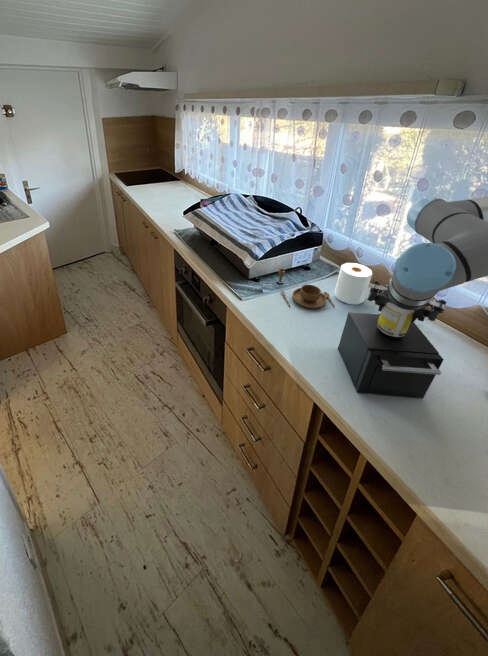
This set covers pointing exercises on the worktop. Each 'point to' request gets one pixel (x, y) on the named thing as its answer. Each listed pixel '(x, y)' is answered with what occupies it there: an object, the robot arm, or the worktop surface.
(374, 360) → the oven door
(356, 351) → the oven
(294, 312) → the worktop surface
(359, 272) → the toilet paper
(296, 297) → the place setting
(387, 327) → the pill bottle
